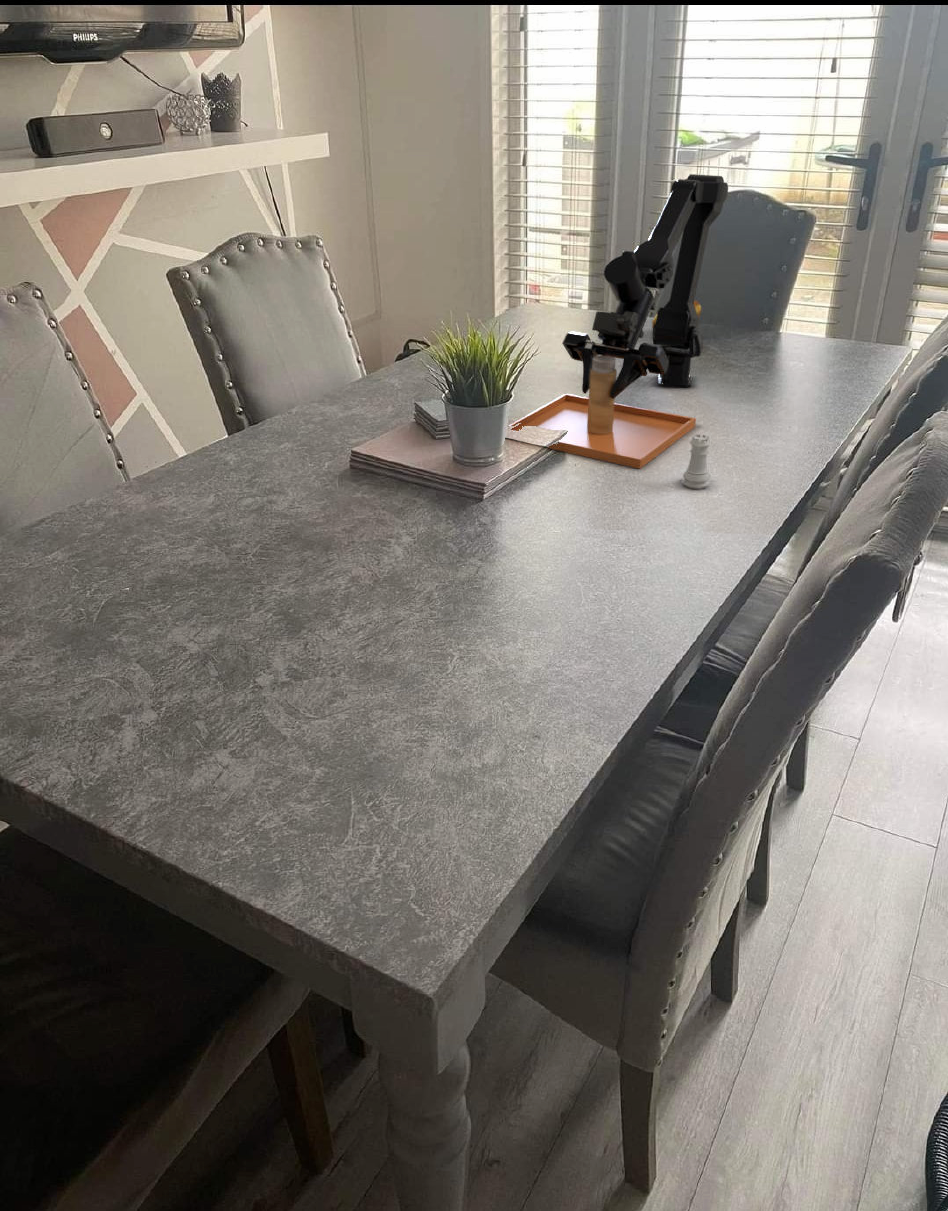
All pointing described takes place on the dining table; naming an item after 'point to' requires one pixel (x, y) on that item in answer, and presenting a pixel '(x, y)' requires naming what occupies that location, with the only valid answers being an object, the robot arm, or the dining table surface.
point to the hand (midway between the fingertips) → (597, 394)
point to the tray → (627, 444)
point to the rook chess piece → (697, 464)
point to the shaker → (601, 395)
